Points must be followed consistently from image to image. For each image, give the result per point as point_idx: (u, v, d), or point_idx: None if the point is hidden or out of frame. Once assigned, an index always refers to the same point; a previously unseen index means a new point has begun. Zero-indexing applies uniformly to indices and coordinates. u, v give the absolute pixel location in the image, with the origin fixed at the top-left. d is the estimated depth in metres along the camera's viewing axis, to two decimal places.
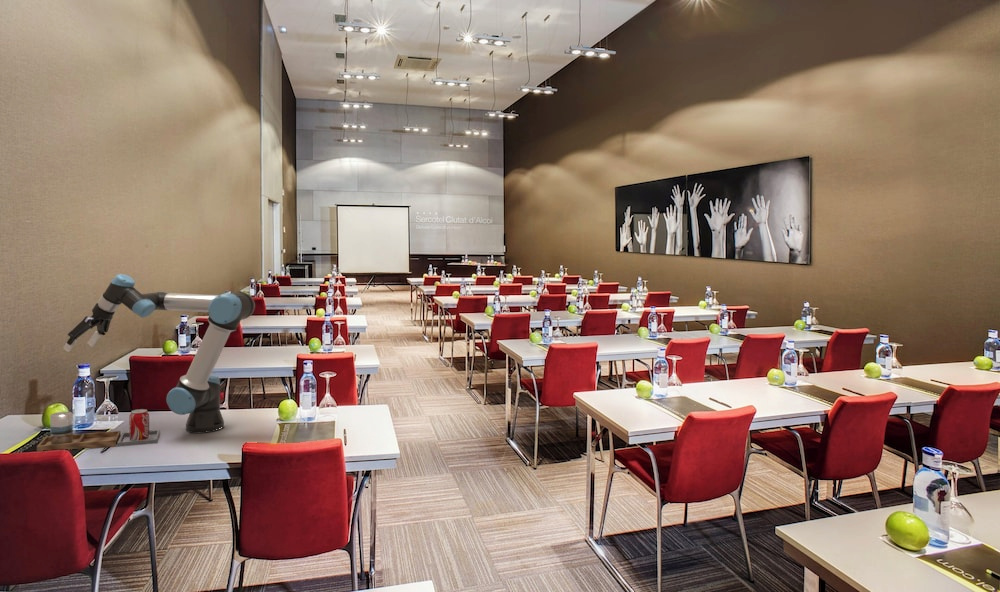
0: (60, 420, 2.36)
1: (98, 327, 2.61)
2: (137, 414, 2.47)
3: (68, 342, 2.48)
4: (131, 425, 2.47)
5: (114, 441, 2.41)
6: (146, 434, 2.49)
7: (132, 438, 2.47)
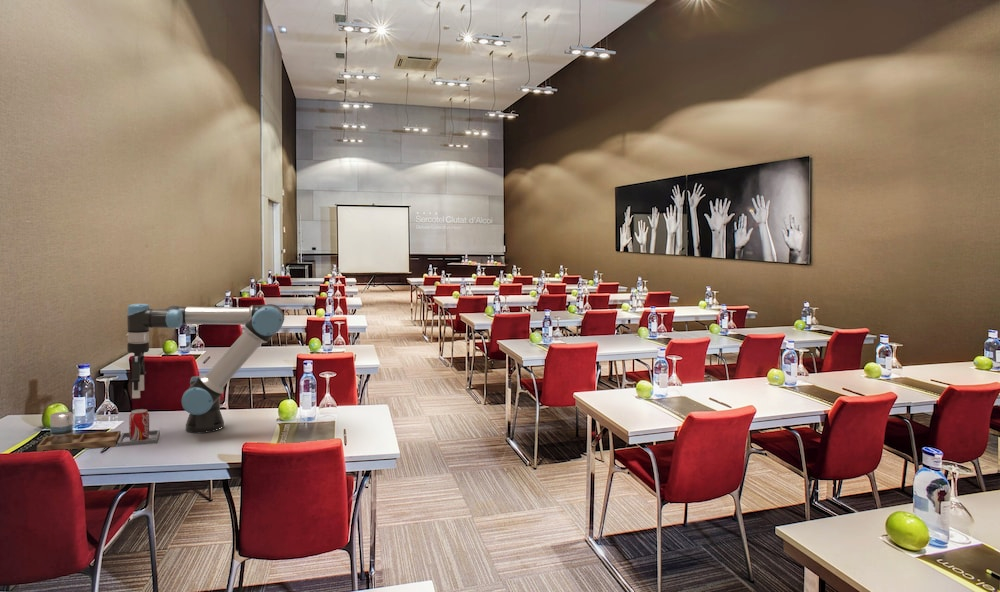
0: (60, 420, 2.36)
1: None
2: (137, 414, 2.47)
3: (135, 388, 2.41)
4: (131, 425, 2.47)
5: (114, 441, 2.41)
6: (146, 434, 2.49)
7: (132, 438, 2.47)
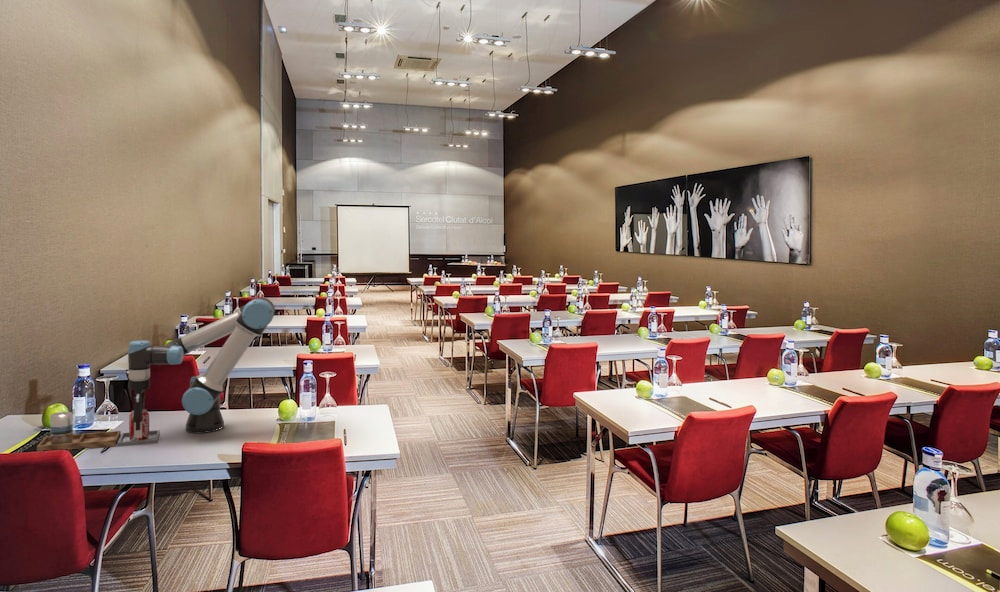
0: (60, 420, 2.36)
1: None
2: None
3: (137, 428, 2.45)
4: (131, 425, 2.47)
5: (114, 441, 2.41)
6: (146, 434, 2.49)
7: (132, 438, 2.47)
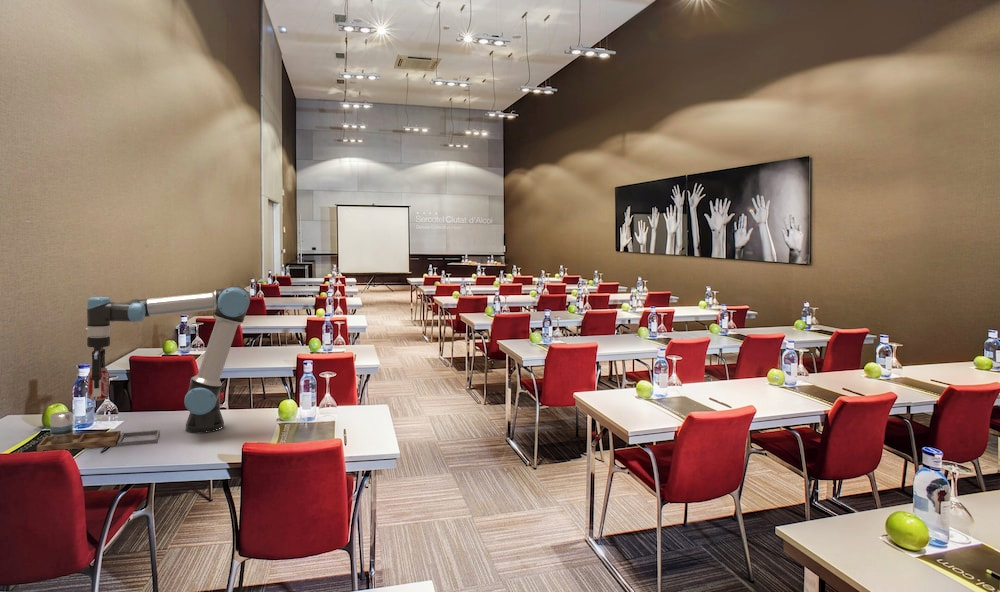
0: (60, 420, 2.36)
1: None
2: None
3: (96, 386, 2.38)
4: (89, 383, 2.40)
5: (114, 441, 2.41)
6: (105, 393, 2.42)
7: (90, 397, 2.40)
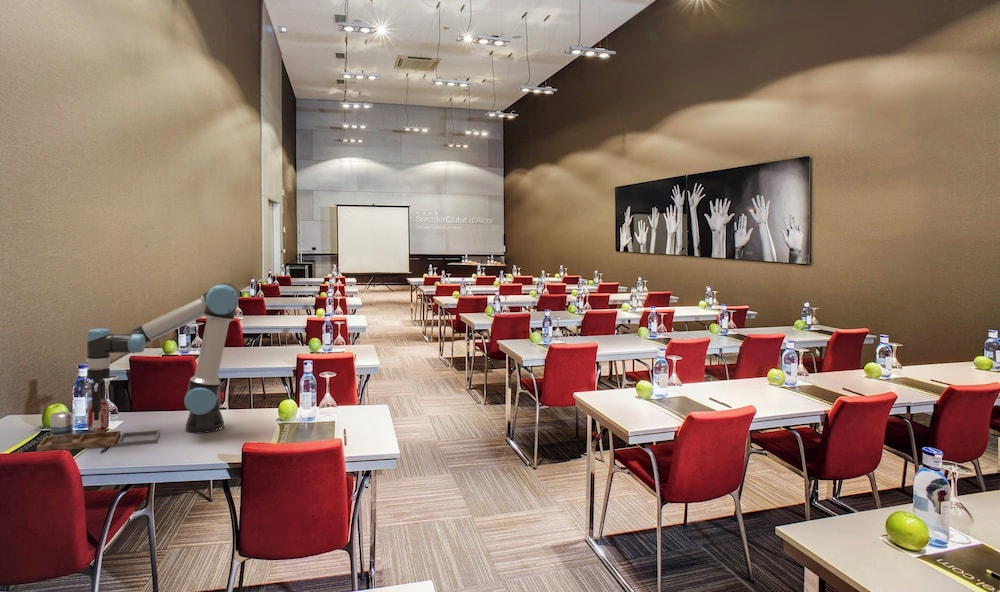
0: (60, 420, 2.36)
1: None
2: None
3: (95, 418, 2.39)
4: (89, 415, 2.40)
5: (114, 441, 2.41)
6: (105, 424, 2.43)
7: (90, 428, 2.41)
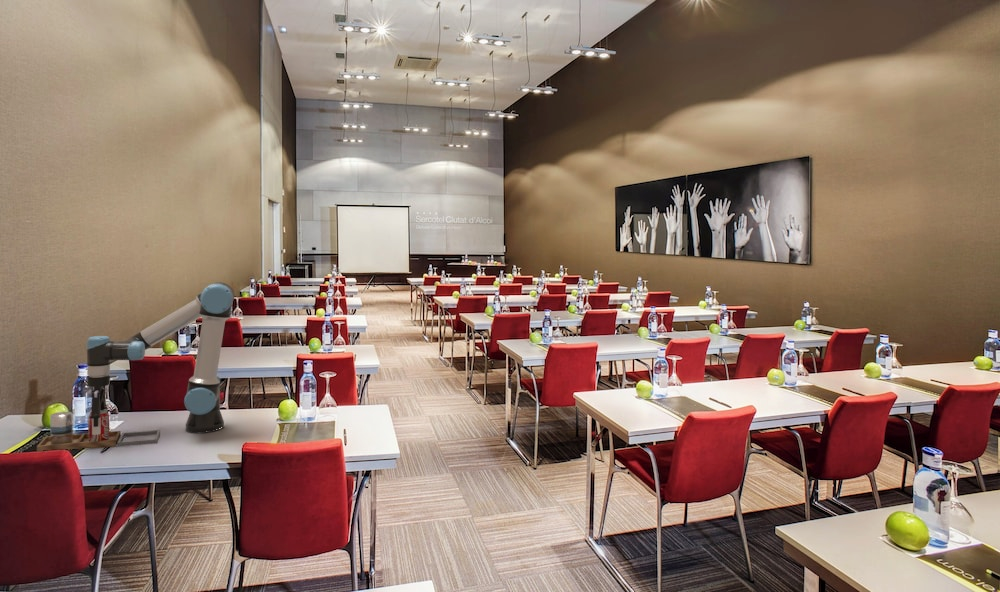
0: (60, 420, 2.36)
1: None
2: None
3: (95, 425, 2.37)
4: (90, 426, 2.41)
5: (114, 441, 2.41)
6: (106, 436, 2.43)
7: (91, 440, 2.41)
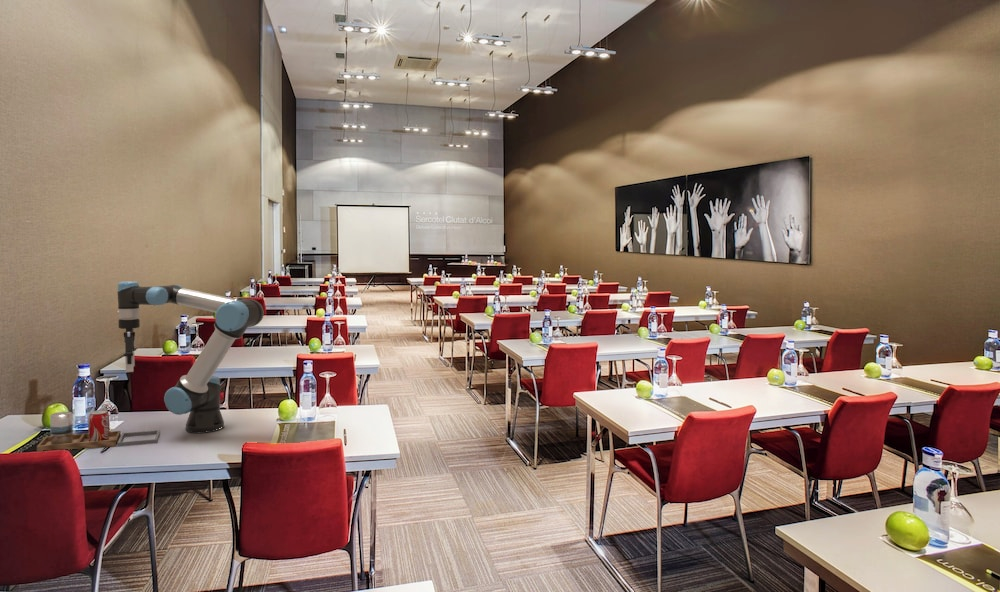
0: (60, 420, 2.36)
1: None
2: (96, 415, 2.41)
3: (129, 362, 2.50)
4: (90, 426, 2.41)
5: (114, 441, 2.41)
6: (106, 436, 2.43)
7: (91, 440, 2.41)
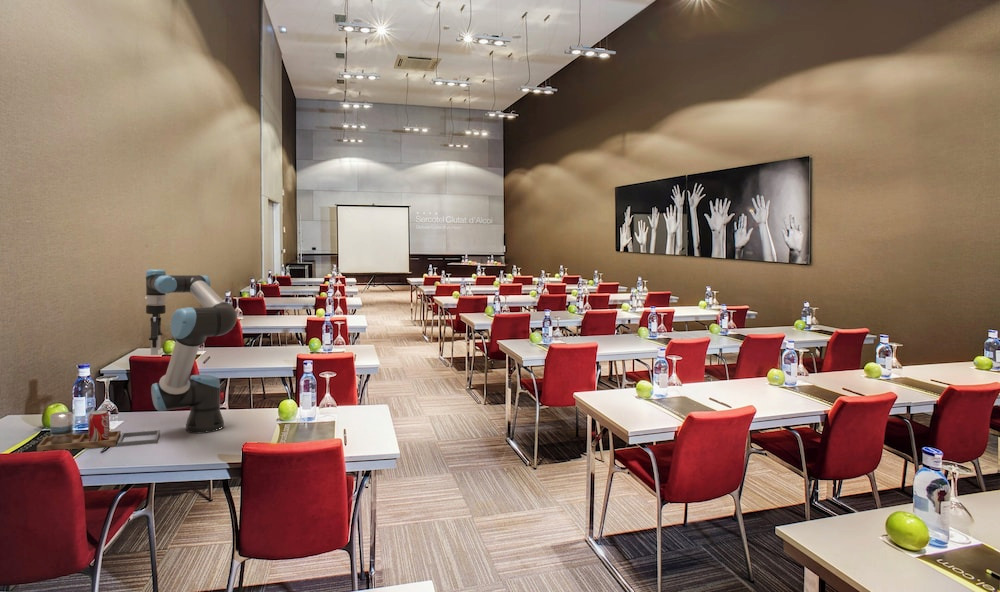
0: (60, 420, 2.36)
1: None
2: (96, 415, 2.41)
3: (154, 346, 2.65)
4: (90, 426, 2.41)
5: (114, 441, 2.41)
6: (106, 436, 2.43)
7: (91, 440, 2.41)
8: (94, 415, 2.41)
